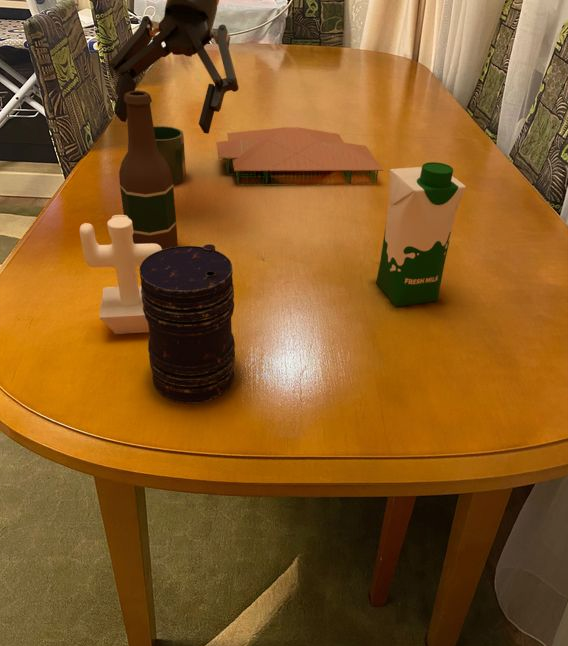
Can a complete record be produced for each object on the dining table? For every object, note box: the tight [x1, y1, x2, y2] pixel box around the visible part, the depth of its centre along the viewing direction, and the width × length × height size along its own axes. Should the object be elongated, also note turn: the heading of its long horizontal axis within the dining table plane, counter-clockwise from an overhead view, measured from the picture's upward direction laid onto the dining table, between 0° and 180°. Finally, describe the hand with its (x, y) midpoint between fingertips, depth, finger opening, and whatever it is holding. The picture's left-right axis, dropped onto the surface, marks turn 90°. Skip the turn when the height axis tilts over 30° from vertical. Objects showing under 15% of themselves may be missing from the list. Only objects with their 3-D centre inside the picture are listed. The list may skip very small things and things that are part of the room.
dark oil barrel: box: [138, 243, 236, 404], centre depth 67 cm, size 10×10×18 cm
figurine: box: [79, 214, 162, 335], centre depth 76 cm, size 7×9×15 cm
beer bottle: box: [118, 90, 178, 250], centre depth 90 cm, size 8×8×24 cm
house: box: [215, 126, 384, 186], centre depth 129 cm, size 23×33×8 cm
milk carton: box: [375, 161, 467, 308], centre depth 86 cm, size 9×9×20 cm
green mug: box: [153, 125, 187, 187], centre depth 120 cm, size 12×9×9 cm
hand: (161, 123), depth 91 cm, fingers open, 13 cm apart
